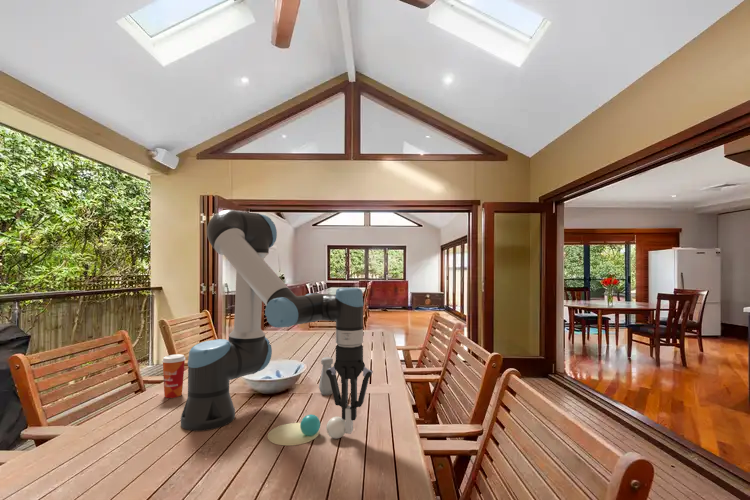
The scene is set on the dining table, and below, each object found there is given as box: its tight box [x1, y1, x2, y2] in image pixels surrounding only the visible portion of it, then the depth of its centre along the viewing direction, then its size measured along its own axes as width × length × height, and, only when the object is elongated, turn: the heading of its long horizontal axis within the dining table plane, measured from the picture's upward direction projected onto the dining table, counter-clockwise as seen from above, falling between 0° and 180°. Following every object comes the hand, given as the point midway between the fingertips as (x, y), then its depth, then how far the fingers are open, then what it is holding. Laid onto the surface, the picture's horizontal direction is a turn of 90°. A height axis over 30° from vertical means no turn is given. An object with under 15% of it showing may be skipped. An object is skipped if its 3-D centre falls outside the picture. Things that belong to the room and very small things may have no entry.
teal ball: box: [300, 413, 321, 436], centre depth 107 cm, size 6×6×6 cm
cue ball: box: [326, 416, 346, 439], centre depth 106 cm, size 6×6×6 cm
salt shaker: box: [318, 356, 334, 396], centre depth 142 cm, size 6×6×13 cm
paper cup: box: [161, 353, 186, 399], centre depth 139 cm, size 8×8×14 cm
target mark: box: [267, 422, 320, 447], centre depth 108 cm, size 14×14×1 cm
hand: (349, 431), depth 105 cm, fingers closed
